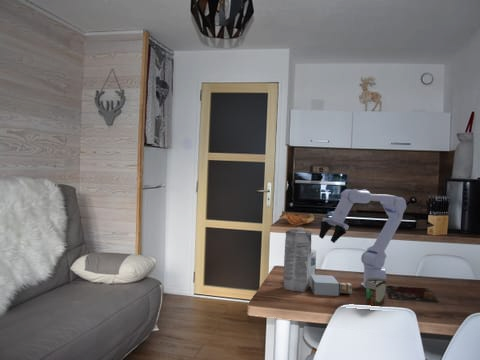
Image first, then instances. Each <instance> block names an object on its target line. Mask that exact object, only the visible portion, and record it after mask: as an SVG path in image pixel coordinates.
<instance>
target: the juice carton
mask: <svg viewBox="0 0 480 360" xmlns="http://www.w3.org/2000/svg"><path fill="white" fill-rule="evenodd" d="M284 239H285V240H284V241H285V242H284V259H283V261H284V262H283V287H284V290H287V291H292V292H299V293H304V292H305V291H306V290H308V288H309V286H310V282H309V281H310V262H311V250H312V232H311V230H304V227H296V229H294V228H293V229H289V230H286V231H285V238H284Z"/></svg>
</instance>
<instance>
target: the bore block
mask: <svg viewBox="0 0 480 360" xmlns="http://www.w3.org/2000/svg"><path fill="white" fill-rule="evenodd" d="M340 283H341V282H340V281H339V280H338V279H337V278H336V276H334V275H325V274H323V275H321V274H315V275H311V278H310V282H309V287H310V289H311V291H312V293H313V294H314V296H332V297H340V294H341V293H340Z"/></svg>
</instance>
